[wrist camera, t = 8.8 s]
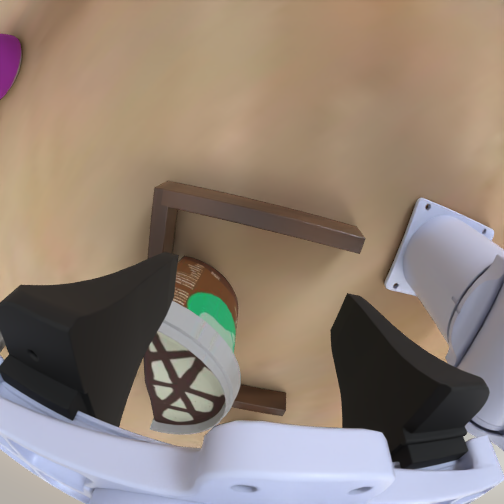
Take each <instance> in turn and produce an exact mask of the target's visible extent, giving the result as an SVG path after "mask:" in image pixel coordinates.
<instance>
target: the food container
mask: <svg viewBox="0 0 504 504" xmlns="http://www.w3.org/2000/svg"><path fill="white" fill-rule="evenodd" d="M237 317H238V303H237V298H236V296H235V293H234V291H233V289H232V287H231V285H230V284H229V283H228V281H227V280H226V279H225V278H224V277H223V276H222V275H221V274H220V273H219V272H218V271H217V270H215V269H214V268H213V267H211V266H210V265H208V264H206V263H204V262H202V261H200V260H197V259H195V258H191V257H187V256H184V257H183V258H182V259H181V260H180V261H179V262H178V264H177V273H176V282H175V292H174V298H173V300H172V303H171V306H170V308H169V311H168V313H167V315H166V317H165V319H164V321H163V322H162V324H161V326H160V328H159V330H158V331H157V333H156V335H155V337H154V338H153V340H152V342H151V344H150V345H149V347H148V349H147V351H146V353H145V355H144V373H145V383H146V387H147V390H148V393H149V396H150V400H151V405H152V410H153V415H154V418H153V421H152V424H151V427H150V430H154V431H158V432H162V433H168V434H194V433H200V432H203V431H206V430H209V429H210V428H212V427H214V426H216V425H217V424H218V423H219V422H220V421H221V420H222V418H223V417H225V416H226V414H227V413H228V412H229V410H230V409H231V407H232V404H233V402H234V400H235V398H236V396H237V394H238V391H239V388H240V383H241V374H240V369H239V365H238V362H237V360H236V357H235V355H234V346H235V336H236V327H237Z"/></svg>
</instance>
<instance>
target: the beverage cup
mask: <svg viewBox="0 0 504 504" xmlns="http://www.w3.org/2000/svg"><path fill="white" fill-rule="evenodd" d="M4 347H5V342H4V340H3V337H2V334H1V331H0V352H1V351H2V349H3V348H4Z"/></svg>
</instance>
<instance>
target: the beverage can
mask: <svg viewBox="0 0 504 504" xmlns="http://www.w3.org/2000/svg"><path fill="white" fill-rule="evenodd" d="M21 59H22V50H21V45H20V42H19V39H18V38H16V37H15V36H12V35H8V34H0V99H1V98H2V97H3V96H4V95H5V94H6V93H7V91H8V90H9V89H10V88H11V86H12V85H13V83H14V81H15V79H16V77H17V75H18V72H19V69H20V66H21Z"/></svg>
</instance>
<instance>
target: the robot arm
mask: <svg viewBox="0 0 504 504" xmlns="http://www.w3.org/2000/svg"><path fill="white" fill-rule="evenodd" d="M426 204H428V205H429V206H428V208H427V209H425V206H426ZM483 229H484V231H483ZM482 231H483V232H482ZM493 236H494V231H493V230H492V229H491V228H489V227H487V226H485V225H483V224H481V223H479V222H477V221H474V220H472V219H470V218H468V217H466V216H464V215H462V214H459V213H457V212H455V211H453V210H450V209H448V208H446V207H444V206H441V205H439V204H436V203H434V202H432V201H429V200H427V199H424V198H419V199H418V200H417V201H416V204H415V207H414V210H413V213H412V216H411V218H410V221H409V224H408V226H407V229H406V232H405V234H404V237H403V240H402V242H401V245H400V247H399V250H398V252H397V254H396V257H395V259H394V262H393V264H392V266H391V269H390V271H389V273H388V275H387V278H386V280H385V283H384V285H385V287H386V288H387V289H388V290H393V291H397V292H401V293H405V294H410V295H414V296H417V297H418V298H419V300H420V301H421V303H422V304H423V306H424V307H425V309H426V310H427V312H428V313H429V315H430V316H431V318H432V319H433V321H434V322H435V324H436V325H437V327H438V329H439V330H440V332H441V333H442V335H443V337H444V338H445V340H446V341H447V343H448V345H449V351H448V353H447V355H446V357H445V358H446V360H447V362H448V363H446V362H444V361H442V360H440V359H438V358H437V357H435V356H433V355H432V354H430V353H428V352H427V351H425V350H424V349H422V348H421V347H420V346H418V345H417V344H415V343H414V342H413V341H411V340H410V339H409V338H407V337H406V336H405V335H404V334H403V333H401V332H400V331H399V330H398V329H397V328H396V327H395V326H393V325H392V324H391V323H390V322H389V321H388V320H387V319H386V318H385V317H384V316H383V315H381V314H380V313H379V312H378V311H377V310H376V309H375V308H374V307H373V306H372V305H371V304H369V303H368V302H367V301H366V300H365V299H363V298H362V297H361V296H358V295H353V294H348V293H347V295H346V297H345V300H344V302H343V304H342V306H341V309H340V311H339V313H338V315H337V318H336V320H335V322H334V324H333V326H332V328H331V347H332V354H333V359H334V364H335V368H336V373H337V378H338V383H339V387H340V393H341V401H342V426H343V428H330V427H314V426H302V425H292V424H283V423H275V422H267V421H250V420H236V421H232V422H228V423H224V424H219V425H217V426H214V427H213V428H212V429H211V430H210V431H209V432H208V433H207V434H206V435H205V436H204V441H203V445H202V447H201V448H191V447H181V446H176V445H172V444H168V443H165V442H161V441H158V440H154V439H151V438H148V437H145V436H142V435H139V434H136V433H133V432H130V431H127V430H124V429H122V428H119V425H120V421H121V418H122V414H123V411H124V408H125V405H126V402H127V399H128V396H129V393H130V390H131V387H132V384H133V382H134V379H135V376H136V374H137V371H138V368H139V366H140V363H141V361H142V359H143V357H144V355H145V353H146V351H147V349H148V347H149V345H150V344H151V342H152V340H153V338H154V337H155V335H156V333H157V331H158V330H159V328H160V326H161V324H162V322H163V321H164V319H165V317H166V315H167V313H168V311H169V308H170V306H171V303H172V300H173V298H174V292H175V282H176V273H177V264H178V256H179V255H175V254H171V253H167V252H163V253H160V254H158V255H156V256H153V257H151V258H149V259H147V260H145V261H142V262H140V263H138V264H136V265H133V266H131V267H128V268H126V269H123V270H121V271H118V272H116V273H113V274H110V275H106V276H103V277H99V278H96V279H92V280H86V281H81V282H76V283H69V284H60V285H20V286H19V287H17V288H16V289H15V290H14V291H13V292H12V293H11V294H9V295H8V296H7V297H6V298H5V299H4V300H3V301H2V302H0V331H1V334H2V337H3V340H4V342H5V345H6V347H7V350H8V352H9V355H8V357H7V358H6V359H5V360H4V359H3V358H2V356H1V355H0V449H1V450H2V451H3V452H5V453H6V454H7V455H8V456H10V457H11V458H13V459H14V460H15V461H16V462H18V463H19V464H21V465H22V466H23V467H25V468H26V469H28V470H29V471H31V472H32V473H33V474H35V475H36V476H38V477H40V478H41V479H43V480H44V481H46V482H47V483H49V484H51V485H52V486H54V487H56V488H57V489H59V490H61V491H62V492H64V493H66V494H68V495H70V496H72V497H73V498H75V499H77V500H79V501H81V502H83V503H85V504H469V503H471V502H472V501H474V500H475V499H477V498H479V497H480V496H482V495H483V494H485V493H486V492H488V491H489V490H491V489H492V488H494V487H495V486H497V485H498V484H499V483H501V482H502V481H503V480H504V474H503V472H502V469H501V466H500V464H499V461H498V459H497V456H496V454H495V451H494V449H493V446H492V444H491V442H492V443H494V444H495V445H497V446H498V447H500V448H501V449H502V450H503V451H504V250H503V249H502V248H501V247H499V246H498V245H497V244H495V243H494V242H492V238H493ZM395 283H397V285H396V286H393V285H394V284H395ZM467 432H468V433H470V434H472V435H474V436H476V438H472V439H470V440H468V441H466V442H465V441H464V438H463V436H465V435H466V434H467Z"/></svg>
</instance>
